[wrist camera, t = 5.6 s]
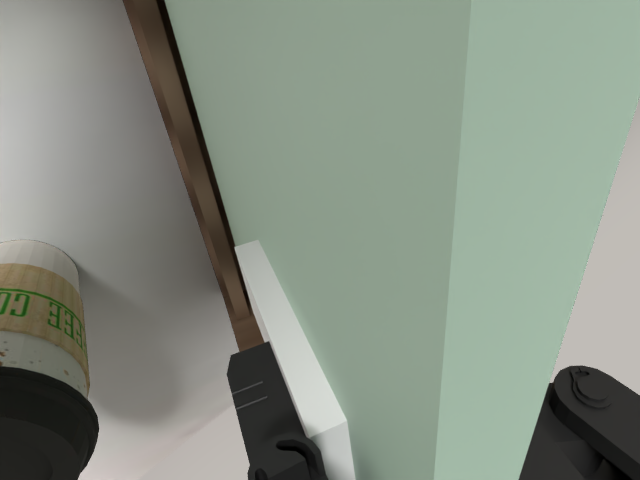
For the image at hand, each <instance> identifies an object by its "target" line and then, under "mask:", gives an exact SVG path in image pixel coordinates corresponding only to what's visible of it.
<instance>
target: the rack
mask: <svg viewBox="0 0 640 480" xmlns="http://www.w3.org/2000/svg"><path fill="white" fill-rule="evenodd" d="M123 2H124V5H125V8H126V11H127V14H128V17H129V20H130V23H131V26H132V29H133V32H134V35H135V38H136V41H137V44H138V47H139V50H140V53H141V56H142V58H143V61H144V64H145V67H146V70H147V73H148V76H149V79H150V82H151V85H152V88H153V91H154V94H155V97H156V100H157V103H158V106H159V109H160V112H161V115H162V118H163V121H164V123H165V126H166V129H167V132H168V135H169V138H170V141H171V144H172V147H173V150H174V153H175V156H176V159H177V162H178V165H179V168H180V171H181V174H182V177H183V180H184V183H185V186H186V188H187V191H188V194H189V197H190V200H191V203H192V206H193V209H194V212H195V215H196V218H197V221H198V224H199V227H200V230H201V233H202V236H203V239H204V242H205V245H206V248H207V250H208V253H209V256H210V259H211V262H212V265H213V268H214V271H215V274H216V277H217V280H218V283H219V286H220V289H221V292H222V295H223V298H224V301H225V304H226V308H227V311H228V314H229V318H230V321H231V324H232V328H233V331H234V334H235V338H236V341H237V344H238V348H239V351H240V352H241V351H244V350H246V349H249V348H252V347H254V346H257V345H260V344H262V343H265V342H264V339H263V337H262V334H261V331H260V329H259V326H258V323H257V321H256V318H255V315H254V313H253V310H252V306H251V303H250V299H249V296H248V293H247V289H246V286H245V282H244V279H243V275H242V272H241V268H240V265H239V262H238V258H237V255H236V251H235V248H234V247H236V246H235V243H234V239H233V236H232V233H231V229H230V226H229V222H228V219H227V215H226V212H225V208H224V205H223V201H222V198H221V194H220V191H219V188H218V184H217V181H216V177H215V174H214V170H213V167H212V163H211V160H210V156H209V153H208V149H207V146H206V143H205V139H204V136H203V132H202V129H201V125H200V122H199V118H198V115H197V111H196V108H195V104H194V101H193V98H192V94H191V91H190V87H189V84H188V80H187V77H186V73H185V70H184V66H183V63H182V59H181V56H180V52H179V49H178V46H177V42H176V39H175V35H174V32H173V28H172V25H171V21H170V18H169V14H168V11H167V7H166V4H165V1H164V0H123Z"/></svg>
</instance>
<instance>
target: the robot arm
mask: <svg viewBox="0 0 640 480" xmlns="http://www.w3.org/2000/svg"><path fill="white" fill-rule="evenodd" d="M234 248H235V251H236V255H237V258H238V262H239V265H240V268H241V272H242V275H243V279H244V282H245V286H246V289H247V293H248V296H249V299H250V303H251V306H252V310H253V313H254V315H255V318H256V321H257V323H258V326H259V329H260V331H261V334H262V337H263V339H264V342H265V343H262V344H260V345H257V346H254V347H252V348H249V349H246V350H244V351H241V352H238V353H236V354H233V355H231V357H230V362H229V366H228V371H227V377H228V381H229V385H230V389H231V393H232V397H233V400H234V404H235V408H236V411H237V416H238V420H239V424H240V428H241V432H242V436H243V439H244V444H245V447H246V451H247V455H248V459H249V463H250V467H249V470H248V480H355V473H354V466H353V459H352V452H351V444H350V437H349V430H348V423H347V420H346V418H345V416H344V413H343V411H342V409H341V407H340V405H339V403H338V401H337V399H336V397H335V395H334V393H333V391H332V389H331V387H330V385H329V383H328V381H327V379H326V377H325V375H324V373H323V371H322V369H321V367H320V365H319V363H318V360H317V358H316V356H315V354H314V352H313V350H312V348H311V346H310V344H309V342H308V340H307V338H306V336H305V334H304V332H303V330H302V328H301V326H300V324H299V322H298V320H297V318H296V316H295V314H294V312H293V309H292V307H291V305H290V303H289V301H288V299H287V297H286V295H285V293H284V291H283V289H282V287H281V285H280V283H279V281H278V279H277V277H276V275H275V273H274V271H273V269H272V267H271V265H270V263H269V261H268V258H267V256H266V254H265V252H264V250H263V248H262V246H261V244H260V242H259V240H255V241H252V242H249V243H246V244H242V245H239V246H236V247H234ZM519 480H640V395H638V394H636V393H635V392H634V391H632V390H631V389H629V388H628V387H626V386H624V385H623V384H622V383H620V382H618V381H617V380H616V379H614V378H613V377H611V376H609V375H608V374H606V373H604V372H602V371H600V370H598V369H594V368H591V367H586V366H569V367H567V368H565V369H562V370H560V372H559V373H558V374H557V376H556V377H555V379H554V382H553V383H549V385H548V388H547V391H546V394H545V397H544V401H543V404H542V407H541V410H540V413H539V416H538V419H537V423H536V426H535V429H534V432H533V435H532V438H531V442H530V445H529V448H528V451H527V454H526V457H525V461H524V464H523V467H522V470H521V473H520V476H519Z"/></svg>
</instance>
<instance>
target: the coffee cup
mask: <svg viewBox="0 0 640 480" xmlns="http://www.w3.org/2000/svg"><path fill="white" fill-rule="evenodd" d="M89 387H90V382H89V370H88V359H87V347H86V336H85V324H84V313H83V304H82V300H81V298H80V289H79V276H78V271H77V268H76V266H75V264H74V263H73V261H72V260H71V258H70V257H68V256H67V255H66V254H65V253H64V252H63V251H61V250H59V249H58V248H56V247H54V246H51V245H49V244H47V243H43V242H39V241H33V240H12V241H7V242H2V243H0V480H78V477H79V475H80V473H81V472H82V471H83V469H84V468H85V467H86V466H87V464H88V462H89V460H90V458H91V456H92V454H93V452H94V449H95V445H96V442H97V438H98V432H99V424H98V417H97V414H96V412H95V410H94V408H93V406H92V404H91V403H90V402H89V401H88V398H87V397H88V393H89Z"/></svg>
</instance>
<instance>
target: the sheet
mask: <svg viewBox="0 0 640 480" xmlns="http://www.w3.org/2000/svg"><path fill="white" fill-rule="evenodd" d="M164 1H165V4H166V7H167V11H168V14H169V18H170V21H171V25H172V28H173V32H174V35H175V39H176V42H177V46H178V49H179V52H180V56H181V59H182V63H183V66H184V70H185V73H186V77H187V80H188V84H189V87H190V91H191V94H192V98H193V101H194V104H195V108H196V111H197V115H198V118H199V122H200V125H201V129H202V132H203V136H204V139H205V143H206V146H207V149H208V153H209V156H210V160H211V163H212V167H213V170H214V174H215V177H216V181H217V184H218V188H219V191H220V194H221V198H222V201H223V205H224V208H225V212H226V215H227V219H228V222H229V226H230V229H231V233H232V236H233V239H234V243H235V246H239V245H242V244H246V243H249V242H252V241H255V240H259V242H260V244H261V246H262V248H263V250H264V252H265V254H266V256H267V258H268V261H269V263H270V265H271V267H272V269H273V271H274V273H275V275H276V277H277V279H278V281H279V283H280V285H281V287H282V289H283V291H284V293H285V295H286V297H287V299H288V301H289V303H290V305H291V307H292V309H293V312H294V314H295V316H296V318H297V320H298V322H299V324H300V326H301V328H302V330H303V332H304V334H305V336H306V338H307V340H308V342H309V344H310V346H311V348H312V350H313V352H314V354H315V356H316V358H317V360H318V363H319V365H320V367H321V369H322V371H323V373H324V375H325V377H326V379H327V381H328V383H329V385H330V387H331V389H332V391H333V393H334V395H335V397H336V399H337V401H338V403H339V405H340V407H341V409H342V411H343V413H344V416H345V418H346V420H347V423H348V430H349V437H350V444H351V452H352V459H353V466H354V473H355V480H519V476H520V473H521V470H522V467H523V464H524V461H525V457H526V454H527V451H528V448H529V445H530V442H531V438H532V435H533V432H534V429H535V426H536V423H537V419H538V416H539V413H540V410H541V407H542V404H543V401H544V397H545V394H546V391H547V388H548V385H549V382H550V378H551V375H552V372H553V369H554V365H555V362H556V359H557V356H558V353H559V350H560V346H561V344H562V341H563V337H564V334H565V331H566V327H567V324H568V322H569V318H570V315H571V312H572V309H573V306H574V303H575V299H576V296H577V293H578V290H579V287H580V284H581V280H582V277H583V274H584V271H585V268H586V264H587V262H588V258H589V255H590V252H591V249H592V246H593V242H594V239H595V236H596V233H597V230H598V226H599V223H600V220H601V217H602V214H603V211H604V208H605V205H606V201H607V198H608V195H609V192H610V189H611V186H612V182H613V179H614V176H615V173H616V170H617V167H618V163H619V160H620V157H621V154H622V151H623V148H624V145H625V141H626V138H627V135H628V132H629V129H630V126H631V122H632V119H633V116H634V113H635V110H636V106H637V103H638V100H639V97H640V0H164Z"/></svg>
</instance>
